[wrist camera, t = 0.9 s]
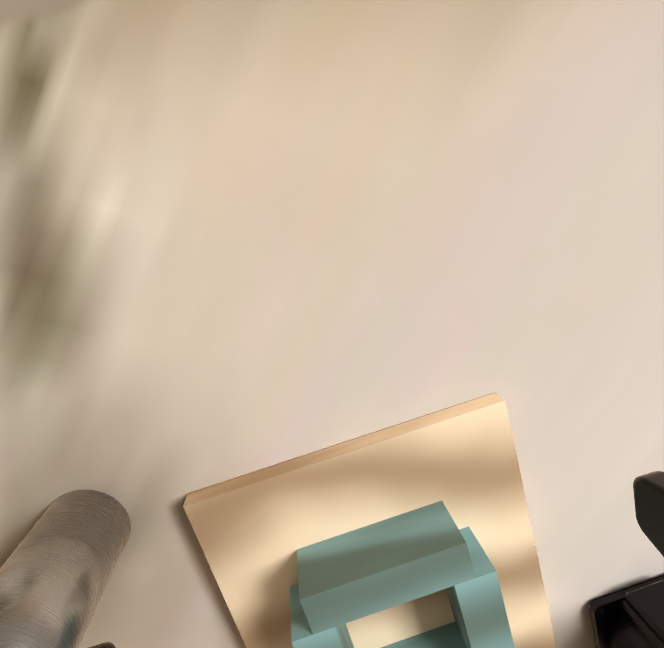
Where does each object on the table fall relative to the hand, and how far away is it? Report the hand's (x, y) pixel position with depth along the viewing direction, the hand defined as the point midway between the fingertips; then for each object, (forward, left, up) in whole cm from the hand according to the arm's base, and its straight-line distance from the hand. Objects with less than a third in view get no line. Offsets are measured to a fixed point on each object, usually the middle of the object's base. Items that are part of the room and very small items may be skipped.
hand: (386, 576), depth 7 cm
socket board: (-14, 0, -14) cm, 20 cm away
